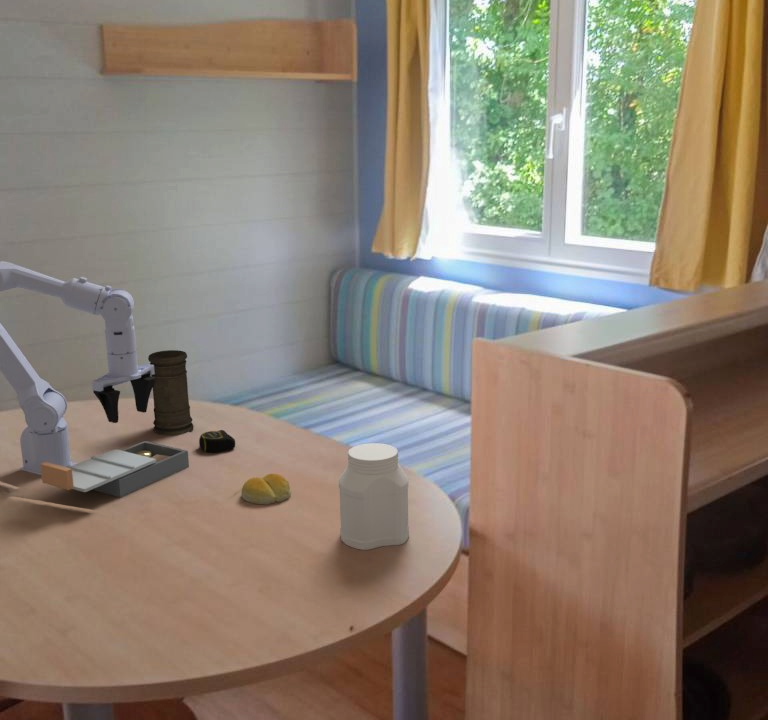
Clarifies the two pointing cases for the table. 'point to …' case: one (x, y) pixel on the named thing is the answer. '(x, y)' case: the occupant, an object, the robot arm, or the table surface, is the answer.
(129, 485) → the tub
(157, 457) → the walnut block
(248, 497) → the bread roll
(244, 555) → the table surface
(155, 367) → the container
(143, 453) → the brass knob
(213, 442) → the tape measure
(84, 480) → the lid
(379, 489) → the jar
